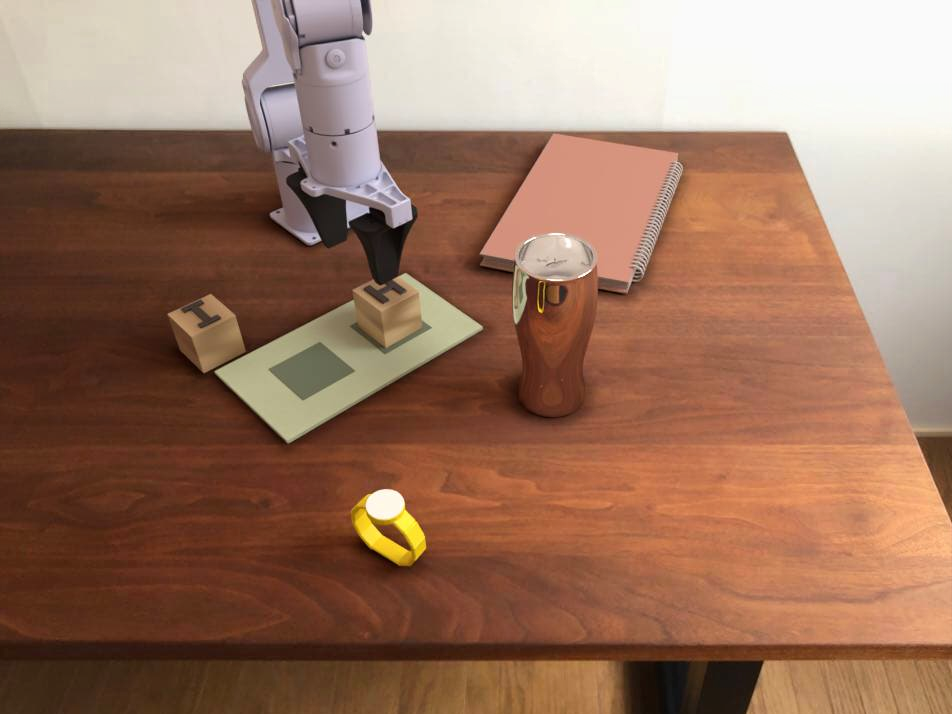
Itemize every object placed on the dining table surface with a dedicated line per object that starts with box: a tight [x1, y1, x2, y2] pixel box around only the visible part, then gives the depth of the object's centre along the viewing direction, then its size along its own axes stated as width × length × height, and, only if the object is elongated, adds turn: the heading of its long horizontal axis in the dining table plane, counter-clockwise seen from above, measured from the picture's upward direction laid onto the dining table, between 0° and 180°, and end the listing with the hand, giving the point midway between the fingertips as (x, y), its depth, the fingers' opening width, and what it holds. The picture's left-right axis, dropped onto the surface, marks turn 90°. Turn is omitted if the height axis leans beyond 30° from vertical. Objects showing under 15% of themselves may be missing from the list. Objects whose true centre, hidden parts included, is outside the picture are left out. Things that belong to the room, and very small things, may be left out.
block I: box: [166, 293, 247, 374], centre depth 82 cm, size 4×4×5 cm
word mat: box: [214, 272, 484, 444], centre depth 84 cm, size 22×12×1 cm, turn 134°
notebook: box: [479, 133, 684, 295], centre depth 101 cm, size 27×17×2 cm, turn 163°
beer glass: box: [511, 232, 599, 418], centre depth 75 cm, size 7×7×15 cm
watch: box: [350, 488, 427, 567], centre depth 66 cm, size 6×3×6 cm, turn 58°
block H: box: [351, 276, 422, 348], centre depth 84 cm, size 4×4×5 cm
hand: (360, 260), depth 80 cm, fingers open, 7 cm apart
